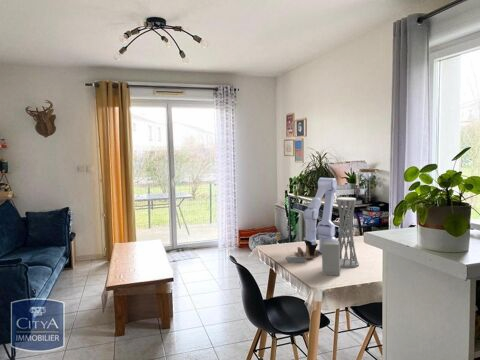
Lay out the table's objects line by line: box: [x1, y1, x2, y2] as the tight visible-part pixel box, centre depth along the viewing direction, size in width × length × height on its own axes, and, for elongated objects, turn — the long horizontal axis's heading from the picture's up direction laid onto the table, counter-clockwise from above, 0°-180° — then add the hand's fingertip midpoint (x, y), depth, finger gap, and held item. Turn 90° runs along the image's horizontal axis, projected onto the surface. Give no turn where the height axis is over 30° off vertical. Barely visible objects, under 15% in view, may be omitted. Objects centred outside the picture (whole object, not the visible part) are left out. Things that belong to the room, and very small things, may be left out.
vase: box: [336, 196, 360, 269], centre depth 185 cm, size 14×13×35 cm
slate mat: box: [285, 256, 306, 264], centre depth 195 cm, size 9×9×1 cm
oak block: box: [305, 244, 317, 259], centre depth 197 cm, size 4×4×6 cm
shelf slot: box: [297, 246, 319, 258], centre depth 205 cm, size 10×10×3 cm
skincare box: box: [321, 240, 341, 277], centre depth 172 cm, size 8×7×16 cm
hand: (310, 254), depth 197 cm, fingers closed on oak block, 4 cm apart
